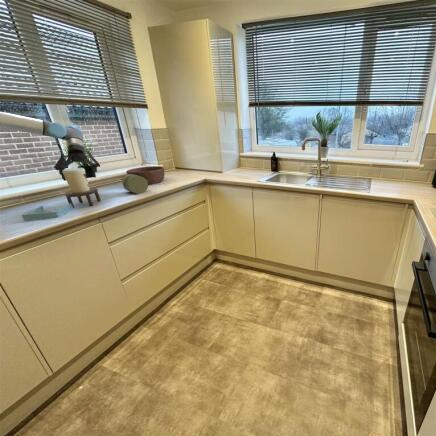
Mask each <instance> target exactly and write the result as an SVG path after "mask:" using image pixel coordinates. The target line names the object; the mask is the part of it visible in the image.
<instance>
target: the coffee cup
mask: <svg viewBox="0 0 436 436" xmlns="http://www.w3.org/2000/svg"><path fill="white" fill-rule="evenodd" d="M62 171H63V172H62V173H63V174H64V176H65V179H66V183H67V185H68V187H69V189H70V191H72V192H73V193H79V192H85V191H88V190H90V188H91V187H90V184H89V180H88V177H87V173H86V169H85V168H84V167H73V168H65V169H64V170H62Z"/></svg>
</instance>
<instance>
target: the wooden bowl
mask: <svg viewBox="0 0 436 436" xmlns="http://www.w3.org/2000/svg"><path fill="white" fill-rule="evenodd" d="M125 173H126V175H127V174H133V175H137V176H141V177H144V178H145V179H146V180H147V182H148V186H149V185H154V184H159V183H162V182H163V181H164V180H165V167H164V166H159V165H153V166H140V167H136V168H135V167H134V168H130V169H127V170H126V171H125Z"/></svg>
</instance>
